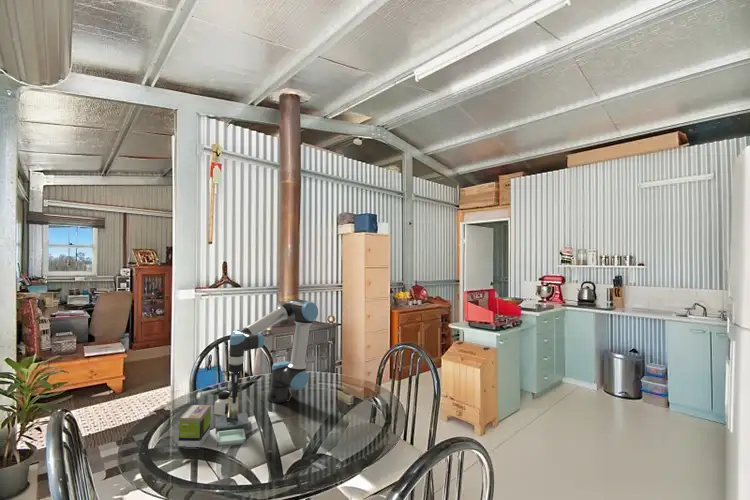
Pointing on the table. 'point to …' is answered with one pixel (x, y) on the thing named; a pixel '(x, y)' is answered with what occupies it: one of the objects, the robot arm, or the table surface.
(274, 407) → the table surface
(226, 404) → the medicine bottle
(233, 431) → the parts tray
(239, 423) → the grey rectangular slab
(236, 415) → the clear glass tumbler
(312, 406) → the table surface
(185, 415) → the tea box
